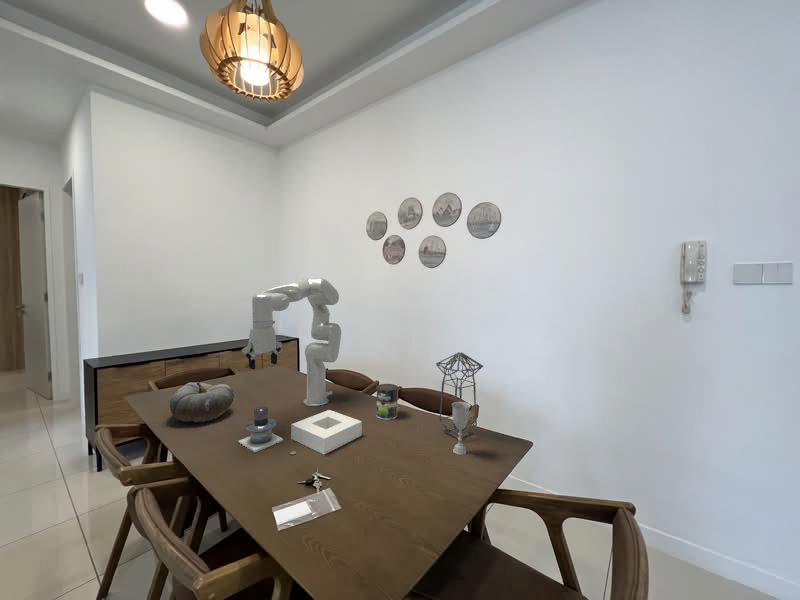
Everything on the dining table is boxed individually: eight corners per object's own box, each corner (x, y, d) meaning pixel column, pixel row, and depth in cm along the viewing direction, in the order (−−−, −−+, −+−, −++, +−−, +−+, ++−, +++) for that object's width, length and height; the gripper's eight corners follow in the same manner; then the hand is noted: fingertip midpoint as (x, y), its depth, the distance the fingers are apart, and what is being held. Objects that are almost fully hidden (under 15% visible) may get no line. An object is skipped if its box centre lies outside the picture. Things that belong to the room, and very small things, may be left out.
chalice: (457, 457, 124) (458, 409, 123) (446, 449, 130) (447, 403, 129) (472, 453, 127) (474, 406, 126) (461, 445, 133) (463, 400, 132)
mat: (266, 432, 141) (266, 430, 141) (283, 440, 134) (283, 438, 134) (238, 442, 131) (238, 440, 131) (254, 452, 124) (254, 450, 124)
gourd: (177, 404, 163) (182, 370, 162) (233, 406, 172) (238, 374, 171) (160, 430, 140) (166, 391, 139) (225, 432, 149) (232, 395, 147)
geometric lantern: (457, 444, 133) (460, 358, 132) (431, 430, 146) (433, 351, 144) (483, 434, 143) (486, 353, 141) (457, 422, 155) (459, 347, 153)
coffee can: (392, 421, 154) (393, 391, 154) (372, 417, 158) (372, 388, 158) (400, 413, 164) (401, 385, 163) (381, 410, 168) (382, 382, 167)
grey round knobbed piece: (266, 431, 140) (266, 401, 140) (281, 438, 134) (281, 408, 133) (240, 440, 132) (240, 409, 131) (255, 449, 125) (255, 416, 124)
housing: (329, 422, 152) (329, 409, 151) (361, 435, 140) (361, 421, 139) (291, 438, 136) (291, 424, 135) (324, 454, 124) (324, 438, 123)
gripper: (276, 321, 145) (276, 360, 147) (237, 326, 131) (237, 369, 133) (286, 323, 141) (287, 363, 142) (247, 328, 127) (248, 372, 128)
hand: (263, 366), depth 137 cm, fingers open, 9 cm apart
